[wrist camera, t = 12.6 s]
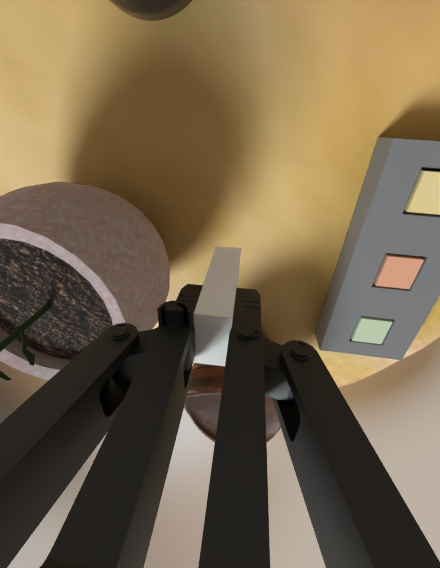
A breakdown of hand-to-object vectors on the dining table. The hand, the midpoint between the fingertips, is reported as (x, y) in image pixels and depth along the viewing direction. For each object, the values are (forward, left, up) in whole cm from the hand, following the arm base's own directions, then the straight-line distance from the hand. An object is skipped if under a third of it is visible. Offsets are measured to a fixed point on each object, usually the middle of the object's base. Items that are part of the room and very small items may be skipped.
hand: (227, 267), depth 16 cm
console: (+9, +23, -26) cm, 36 cm away
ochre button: (-2, +23, -25) cm, 34 cm away
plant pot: (+11, -21, -26) cm, 35 cm away
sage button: (+20, +23, -25) cm, 40 cm away
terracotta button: (+9, +23, -25) cm, 35 cm away
